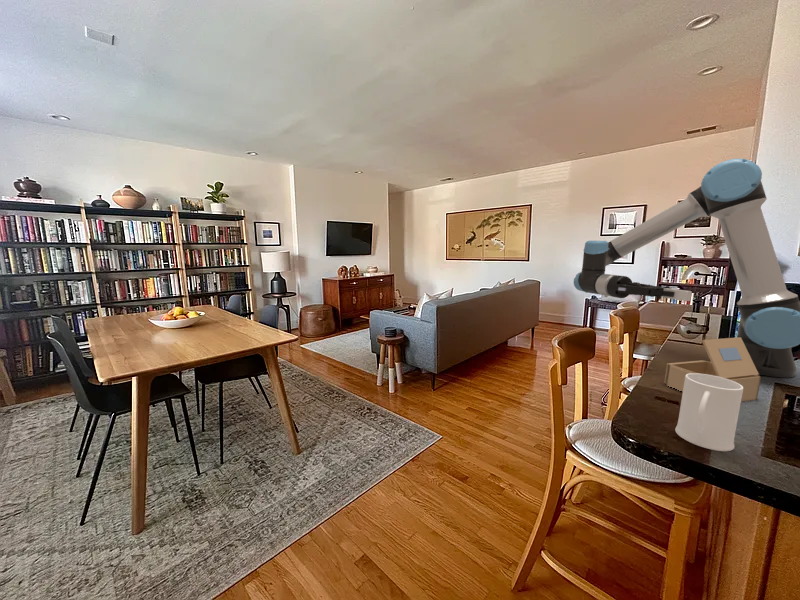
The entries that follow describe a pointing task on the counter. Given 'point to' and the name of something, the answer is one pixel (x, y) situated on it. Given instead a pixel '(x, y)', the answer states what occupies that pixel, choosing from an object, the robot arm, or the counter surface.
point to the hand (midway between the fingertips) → (688, 296)
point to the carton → (679, 371)
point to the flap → (729, 357)
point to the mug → (709, 411)
